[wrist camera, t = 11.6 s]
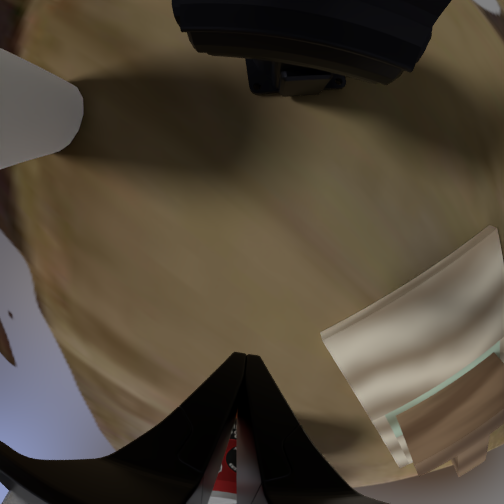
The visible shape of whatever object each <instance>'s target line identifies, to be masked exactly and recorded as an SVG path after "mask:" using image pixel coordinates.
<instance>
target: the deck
mask: <svg viewBox="0 0 504 504" xmlns="http://www.w3.org/2000/svg"><path fill="white" fill-rule="evenodd" d="M320 333H321V337H322V341H323V343H324V344H325V346H326V347H327V349H328V351H329V352H330V354H331V356H332V357H333V359H334V360H335V362H336V364H337V365H338V367H339V369H340V370H341V372H342V373H343V375H344V377H345V378H346V380H347V382H348V383H349V385H350V386H351V388H352V390H353V391H354V393H355V395H356V396H357V398H358V400H359V401H360V403H361V405H362V406H363V408H364V409H365V411H366V413H367V414H368V416H369V418H370V419H371V421H372V423H373V424H374V426H375V428H376V429H377V431H378V433H379V434H380V436H381V438H382V439H383V441H384V443H385V444H386V446H387V448H388V449H389V451H390V453H391V454H392V456H393V458H394V460H395V461H396V463H397V465H398V466H399V468H402V467H404V466H406V465H408V464H410V463H412V462H413V461H412V458H411V455H410V452H409V449H408V447H407V444H406V441H405V438H404V436H403V433H402V431H401V428H400V425H399V423H398V420H397V418H396V415H398V414H400V413H402V412H404V411H406V410H407V409H409V408H411V407H413V406H415V405H416V404H418V403H420V402H422V401H423V400H425V399H427V398H429V397H430V396H432V395H433V394H435V393H437V392H438V391H440V390H442V389H443V388H445V387H446V386H448V385H449V384H451V383H452V382H454V381H455V380H457V379H458V378H460V377H461V376H463V375H464V374H465V373H467V372H468V371H470V370H471V369H472V368H474V367H475V366H476V365H478V364H479V363H480V362H482V361H483V360H484V359H485V358H487V357H488V356H489V355H491V354H492V353H493V352H494V353H495V354H496V355H497V356H498V357H499V358H500V359H501V361H502V362H503V363H504V263H503V256H502V250H501V245H500V239H499V234H498V230H497V228H495V227H493V226H490V225H489V226H487V227H486V228H485V229H484V230H482V231H481V232H480V233H478V234H477V235H476V236H474V237H473V238H472V239H470V240H469V241H468V242H466V243H465V244H464V245H462V246H461V247H460V248H458V249H457V250H455V251H454V252H453V253H451V254H450V255H448V256H447V257H446V258H444V259H443V260H441V261H440V262H438V263H437V264H435V265H434V266H432V267H431V268H430V269H428V270H427V271H425V272H423V273H422V274H420V275H419V276H417V277H416V278H414V279H413V280H411V281H410V282H408V283H406V284H405V285H403V286H402V287H400V288H398V289H397V290H395V291H394V292H392V293H390V294H389V295H387V296H385V297H384V298H382V299H380V300H379V301H377V302H375V303H373V304H372V305H370V306H368V307H366V308H365V309H363V310H361V311H359V312H358V313H356V314H354V315H352V316H350V317H349V318H347V319H345V320H343V321H341V322H339V323H337V324H336V325H334V326H332V327H330V328H328V329H326V330H324V331H322V332H320Z"/></svg>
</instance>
